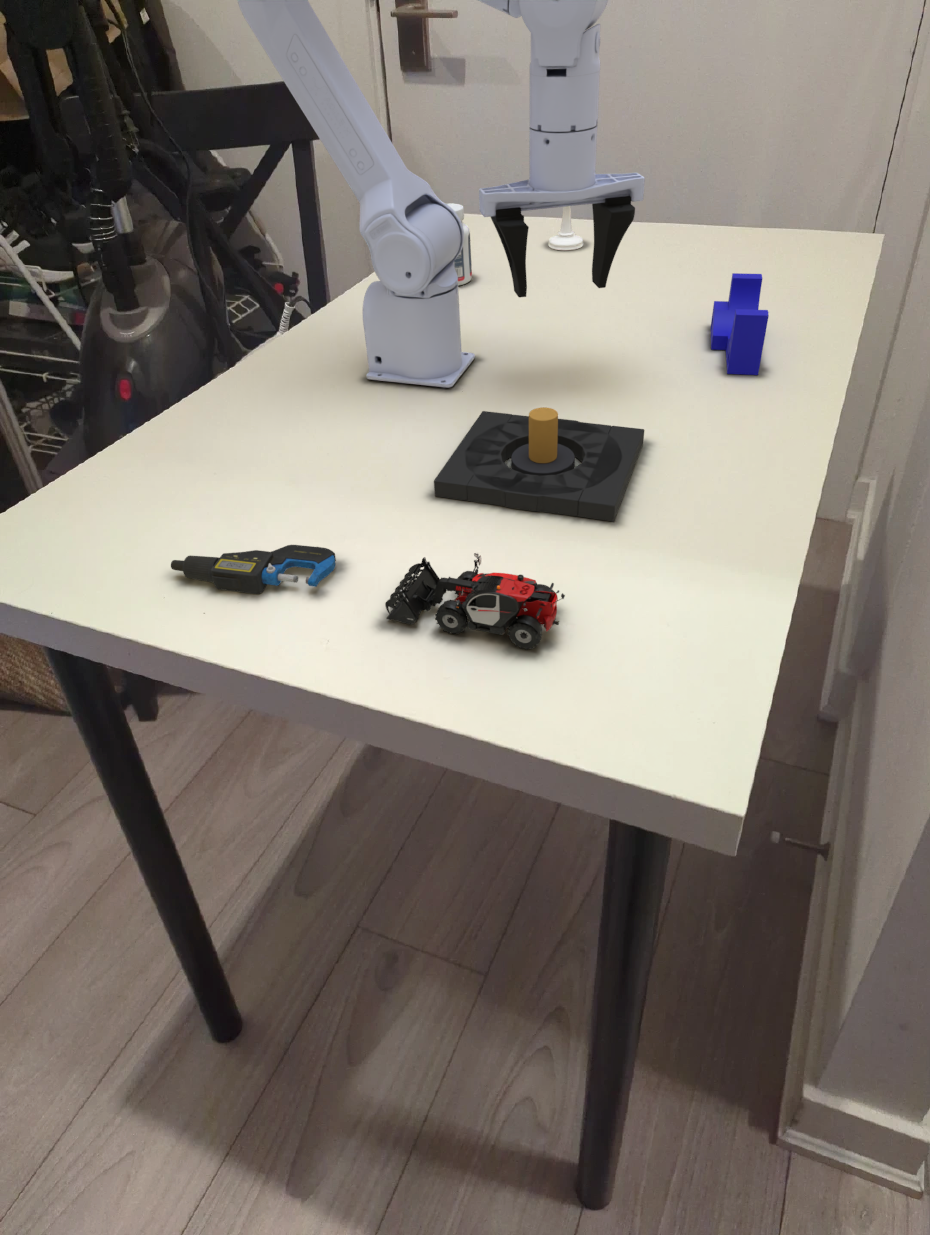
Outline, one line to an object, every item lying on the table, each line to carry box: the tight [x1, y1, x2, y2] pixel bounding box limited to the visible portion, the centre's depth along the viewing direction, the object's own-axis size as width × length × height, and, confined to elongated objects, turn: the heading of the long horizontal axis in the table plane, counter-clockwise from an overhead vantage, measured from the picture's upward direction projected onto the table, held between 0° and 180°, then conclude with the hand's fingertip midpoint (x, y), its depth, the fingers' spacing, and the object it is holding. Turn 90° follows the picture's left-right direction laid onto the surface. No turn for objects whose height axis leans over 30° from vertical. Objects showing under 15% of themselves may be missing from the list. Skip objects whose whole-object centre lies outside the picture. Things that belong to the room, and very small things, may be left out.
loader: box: [385, 552, 566, 650], centre depth 58 cm, size 12×5×5 cm, turn 69°
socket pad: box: [433, 410, 645, 522], centre depth 74 cm, size 15×13×2 cm
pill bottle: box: [446, 202, 473, 287], centre depth 110 cm, size 5×5×9 cm
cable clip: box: [710, 272, 770, 376], centre depth 90 cm, size 12×4×6 cm, turn 168°
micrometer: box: [170, 544, 337, 595], centre depth 64 cm, size 12×2×5 cm
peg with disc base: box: [510, 406, 576, 476], centre depth 73 cm, size 5×5×5 cm
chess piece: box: [547, 206, 584, 251], centre depth 119 cm, size 5×5×10 cm
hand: (559, 289), depth 82 cm, fingers open, 7 cm apart
